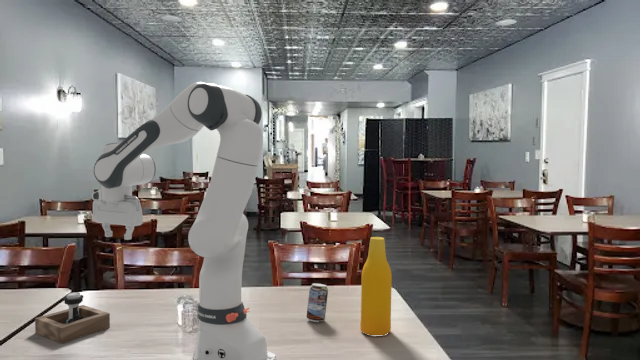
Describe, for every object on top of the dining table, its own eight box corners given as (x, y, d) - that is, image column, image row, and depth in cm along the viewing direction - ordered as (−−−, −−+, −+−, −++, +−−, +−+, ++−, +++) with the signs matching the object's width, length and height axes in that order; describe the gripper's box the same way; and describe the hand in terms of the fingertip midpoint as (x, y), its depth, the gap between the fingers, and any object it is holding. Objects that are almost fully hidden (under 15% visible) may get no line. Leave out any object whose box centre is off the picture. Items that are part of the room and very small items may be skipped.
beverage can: (303, 322, 157) (303, 285, 156) (313, 315, 164) (314, 280, 163) (320, 325, 154) (320, 288, 153) (330, 318, 161) (331, 282, 160)
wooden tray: (109, 327, 150) (109, 313, 150) (61, 343, 138) (61, 328, 137) (83, 318, 158) (82, 304, 158) (35, 333, 145) (35, 318, 145)
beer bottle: (355, 328, 153) (357, 236, 151) (381, 324, 156) (383, 234, 154) (368, 339, 144) (370, 241, 142) (396, 335, 147) (398, 239, 145)
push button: (73, 332, 144) (73, 298, 143) (57, 330, 144) (56, 297, 144) (87, 324, 150) (87, 292, 150) (71, 322, 151) (71, 291, 150)
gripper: (147, 195, 151) (148, 239, 152) (105, 192, 162) (107, 233, 163) (129, 196, 146) (131, 242, 147) (88, 193, 156) (89, 236, 157)
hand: (118, 238), depth 155 cm, fingers open, 8 cm apart
